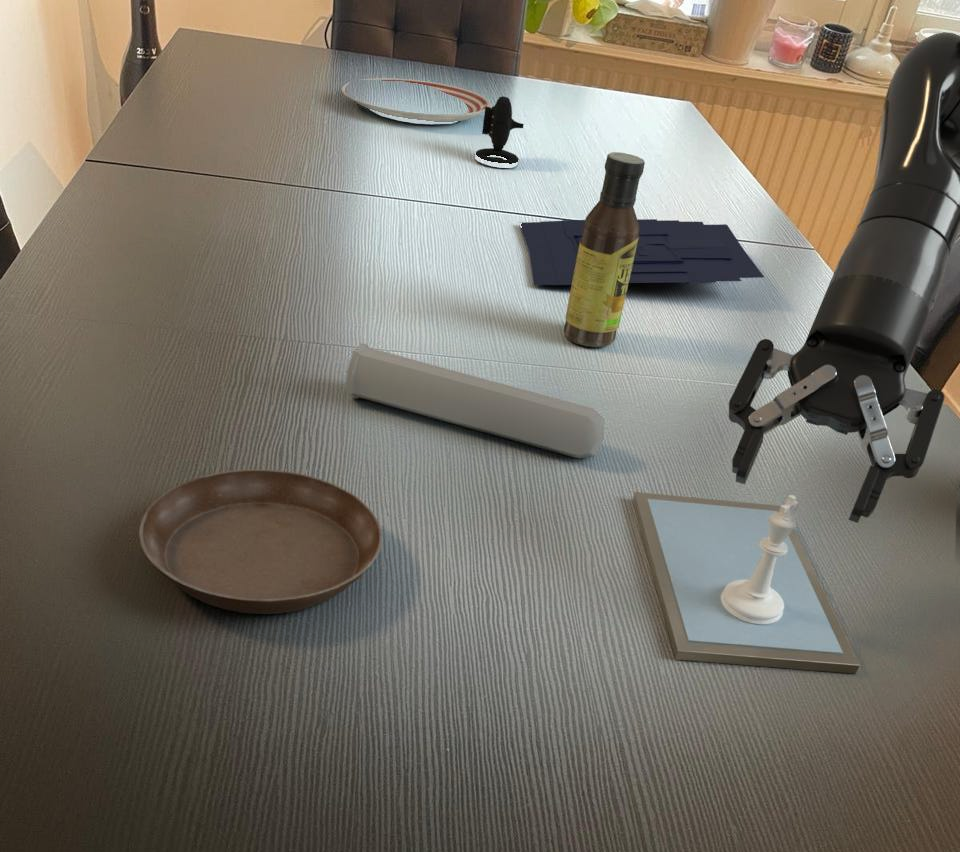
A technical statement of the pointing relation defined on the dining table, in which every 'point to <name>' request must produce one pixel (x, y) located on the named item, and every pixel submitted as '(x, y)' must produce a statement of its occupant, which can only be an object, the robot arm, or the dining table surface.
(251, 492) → the plant saucer
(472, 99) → the dinner plate
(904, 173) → the robot arm
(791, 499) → the chess piece
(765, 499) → the dining table surface
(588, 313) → the sauce bottle
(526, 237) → the papers
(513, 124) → the webcam
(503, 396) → the tube
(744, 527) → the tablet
